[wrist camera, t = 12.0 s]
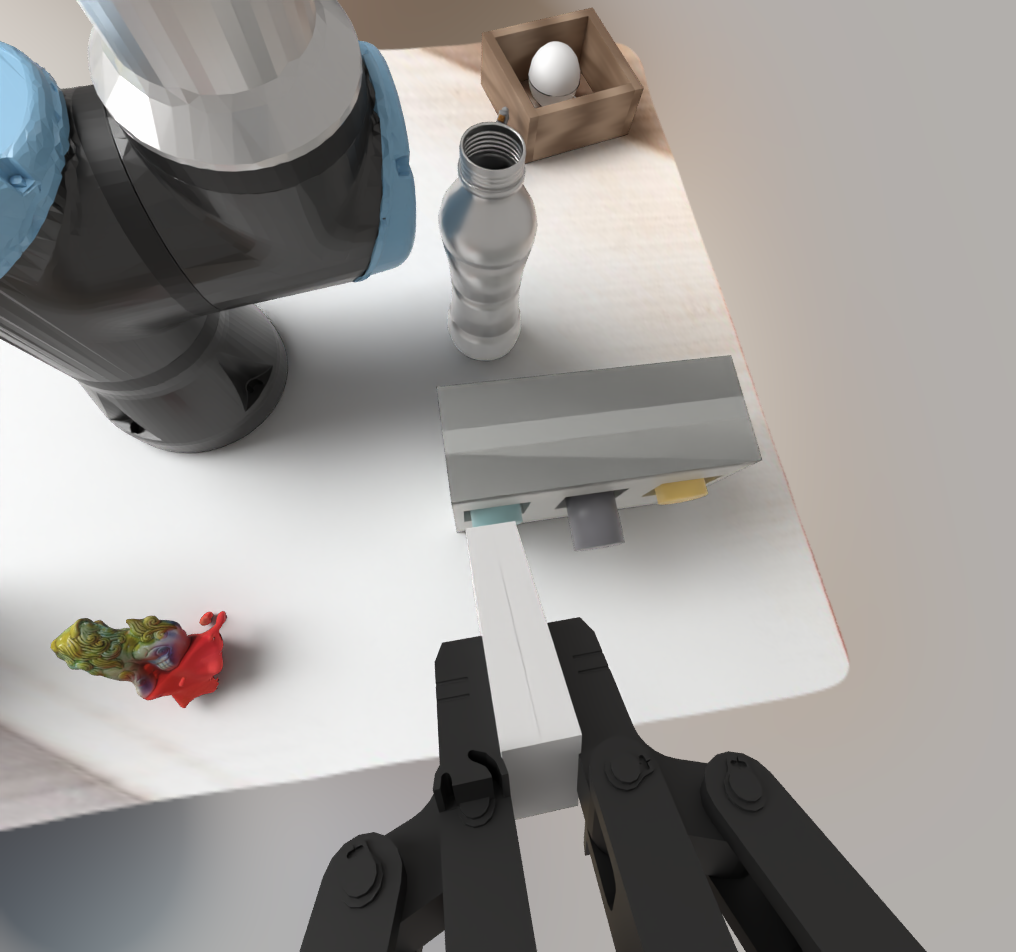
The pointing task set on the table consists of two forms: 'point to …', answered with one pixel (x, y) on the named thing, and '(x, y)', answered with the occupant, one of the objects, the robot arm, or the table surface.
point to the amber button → (680, 491)
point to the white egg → (554, 73)
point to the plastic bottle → (487, 240)
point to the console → (592, 435)
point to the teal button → (496, 515)
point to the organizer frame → (571, 118)
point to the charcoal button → (594, 521)
